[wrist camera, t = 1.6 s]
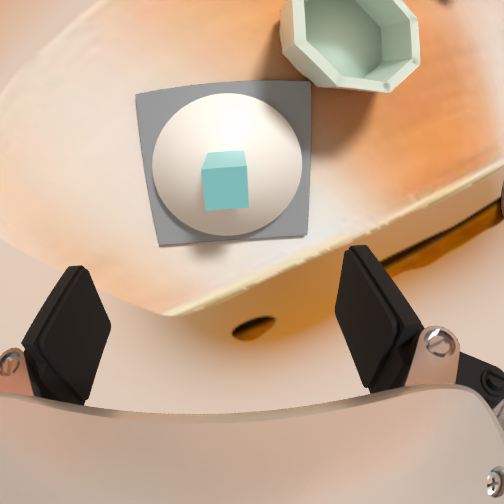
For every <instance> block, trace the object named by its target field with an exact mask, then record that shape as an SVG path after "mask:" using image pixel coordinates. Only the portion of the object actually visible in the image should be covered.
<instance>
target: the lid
mask: <svg viewBox="0 0 504 504" xmlns="http://www.w3.org/2000/svg"><path fill="white" fill-rule="evenodd" d="M152 171H153V178H154V183H155V186H156V189H157V192H158V194H159V196H160V198H161V200H162V201H163V203H164V204H165V206H166V207H167V208H168V210H169V211H170V212H171V213H172V214H173V215H174V216H175V217H176V218H178V219H179V220H180V221H181V222H183V223H185V224H186V225H188V226H189V227H191V228H194V229H196V230H198V231H201V232H204V233H208V234H212V235H220V236H233V235H241V234H245V233H249V232H252V231H255V230H257V229H260V228H262V227H263V226H265V225H267V224H269V223H270V222H272V221H273V220H274V219H276V218H277V217H278V216H279V215H280V214H281V213H282V212H283V211H284V210H285V209H286V208H287V206H288V205H289V204H290V202H291V201H292V199H293V197H294V195H295V193H296V191H297V189H298V186H299V183H300V179H301V174H302V154H301V149H300V145H299V142H298V139H297V137H296V135H295V133H294V131H293V129H292V127H291V126H290V124H289V123H288V122H287V120H286V119H285V118H284V117H283V116H282V115H281V114H280V113H279V112H278V111H277V110H275V109H274V108H273V107H271V106H270V105H268V104H266V103H265V102H263V101H261V100H258V99H256V98H254V97H250V96H246V95H242V94H234V93H221V94H214V95H209V96H206V97H202V98H200V99H197V100H195V101H193V102H191V103H189V104H188V105H186V106H184V107H183V108H181V109H180V110H179V111H178V112H177V113H175V114H174V115H173V116H172V118H171V119H170V120H169V121H168V122H167V123H166V125H165V126H164V128H163V129H162V131H161V133H160V135H159V137H158V139H157V142H156V145H155V148H154V153H153V160H152Z"/></svg>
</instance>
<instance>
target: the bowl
mask: <svg viewBox="0 0 504 504" xmlns="http://www.w3.org/2000/svg"><path fill="white" fill-rule="evenodd" d="M279 37H280V43H281V46H282V54H283V55H284V56H285V57H286V58H287V59H288V60H289V62H290V63H291V64H292V66H293V67H294V68H295V69H296V70H297V71H298V72H299V73H301V74H302V75H303V76H304V77H306V78H307V79H309V80H311V81H312V82H313V83H314V84H315V85H316V86H317V87H325V88H335V89H348V90H357V91H366V92H379V93H390V92H391V91H392V90H393V89H394V88H395V87H396V86H398V85H399V84H400V83H401V82H402V81H403V80H404V79H405V78H406V77H407V76H408V75H410V74H411V73H412V72H413V71H414V70H415V69H416V68H417V67H418V66H419V65H420V45H419V30H418V19H417V18H416V17H415V15H414V14H413V13H412V12H411V10H410V9H409V8H408V7H407V6H406V5H405V3H404V2H403V1H402V0H287V1H286V2H285V4H284V5H283V7H282V8H281V10H280V27H279Z"/></svg>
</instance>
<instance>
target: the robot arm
mask: <svg viewBox="0 0 504 504" xmlns="http://www.w3.org/2000/svg"><path fill="white" fill-rule="evenodd" d="M501 209H502V214H503V216H504V182H503V187H502V193H501ZM335 315H336V318H337V320H338V323H339V325H340V327H341V330H342V332H343V335H344V337H345V340H346V342H347V345H348V347H349V350H350V352H351V355H352V358H353V360H354V363H355V365H356V368H357V370H358V373H359V376H360V379H361V381H362V384H363V386H364V387H365V388H369V391H370V394H368V395H364V396H359V397H354V398H349V399H344V400H339V401H333V402H328V403H322V404H316V405H310V406H303V407H296V408H288V409H280V410H271V411H260V412H246V413H230V414H161V413H160V414H159V413H143V412H130V411H120V410H111V409H103V408H95V407H89V406H84V403H85V400H87V399H88V398H89V395H90V392H91V388H92V385H93V382H94V378H95V375H96V372H97V369H98V366H99V362H100V359H101V356H102V353H103V350H104V347H105V345H106V342H107V339H108V336H109V333H110V330H111V323H110V320H109V318H108V316H107V314H106V311H105V309H104V307H103V305H102V302H101V300H100V298H99V295H98V293H97V291H96V288H95V286H94V283H93V281H92V278H91V276H90V273H89V271H88V270H87V269H85V268H84V267H83V266H82V265H81V266H69V267H68V268H67V269H66V271H65V272H64V274H63V275H62V277H61V278H60V280H59V281H58V282H57V284H56V286H55V287H54V289H53V290H52V292H51V293H50V295H49V296H48V298H47V300H46V301H45V303H44V304H43V306H42V308H41V309H40V311H39V313H38V314H37V316H36V318H35V319H34V321H33V323H32V324H31V326H30V328H29V330H28V331H27V333H26V335H25V337H24V339H23V341H22V342H21V344H22V345H23V346H24V348H25V351H24V353H23V351H21V350H20V349H18V348H11V349H9V350H7V351H5V352H4V353H3V354H2V355H1V356H0V504H504V372H503V371H502V370H501V369H499V368H498V367H496V366H493V365H491V364H489V363H486V362H484V361H481V360H479V359H477V358H474V357H472V356H469V355H467V354H464V353H462V352H460V344H459V342H458V339H457V338H456V336H455V335H454V334H453V333H452V332H450V331H449V330H448V329H446V328H444V327H440V326H430V327H427V328H424V327H423V325H422V324H421V321H420V320H419V318H418V317H417V315H416V314H415V312H414V311H413V309H412V308H411V306H410V305H409V303H408V302H407V300H406V299H405V297H404V296H403V294H402V293H401V291H400V290H399V289H398V287H397V286H396V284H395V283H394V282H393V280H392V279H391V277H390V276H389V275H388V273H387V272H386V270H385V269H384V268H383V266H382V265H381V264H380V262H379V261H378V260H377V258H376V257H375V256H374V254H373V253H372V252H371V250H370V249H369V248H368V247H367V246H366V245H356V246H350V248H349V250H347V251H345V253H344V259H343V265H342V271H341V277H340V284H339V289H338V294H337V300H336V305H335Z"/></svg>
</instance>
